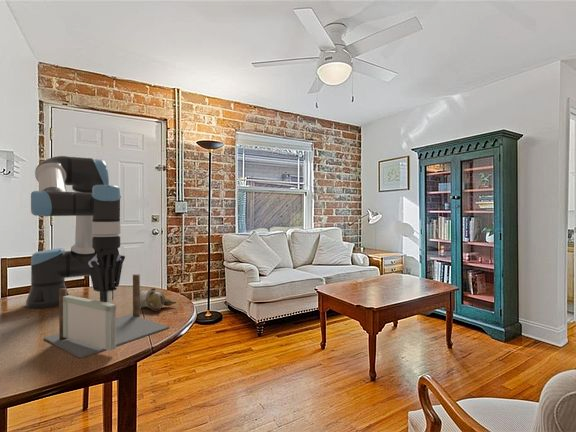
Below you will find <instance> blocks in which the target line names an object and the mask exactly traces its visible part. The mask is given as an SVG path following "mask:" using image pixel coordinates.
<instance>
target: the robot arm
mask: <svg viewBox="0 0 576 432" xmlns="http://www.w3.org/2000/svg"><path fill="white" fill-rule="evenodd" d="M34 176H35V179H36V181H37V182H38V190H33V191H31V193H30V213H31V215H33V216H37V217H38V216H39V217H41V216H42V217H70V216H71V217H72V216H74V217H75V233H74V234H75V235H74V236H75V237H74V244H73V245H72V246H71V247H70V250H67V251H66V250H65V248H63V247H61V248H50V249H45V250H41V251H37V252H34V253H32V255H31V261H30V267H31V268H30V269H31V270H30V272H31V274H30V277H31V278H30V283H31V284H30V285H31V286H30V291H29V292H28V296H27V298H26V300H25V308H28V309H34V310H35V309H36V310H39V309H48V308H53V307H59V289H61V288H67V287H66V285H65V283H66V282H65V280H66V278H78V277H90V280H91V283H92V288H93V291H95V292H99V301H101V302H106V303H111V304H113V300H114V291H116V290H117V287H119V285H120V280H121V274H122V269H123V263H124V261H125V259H126V256H125V255H121V254H120V251H119V248H120V247H121V236H120V234H121V198H122V195H121V189H120V187H119V186H118V185H112V184H109V183H110V180H109V179H110V178H109V177H110V176H109V171H108V167H107V164H106V162H105V160H102V159H98V158H93V157H91V158H90V157H79V156H78V157H76V156H66V155H58V156H53V157H50V158H47V159H44V160H43V161H42V162H40V163H39V164H38V165H37V166H36V167H35V171H34ZM66 186H71V188H72V189H71V190H72V191H67V187H66ZM68 295H70V294H69V292H68V290H67V296H68Z"/></svg>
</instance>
